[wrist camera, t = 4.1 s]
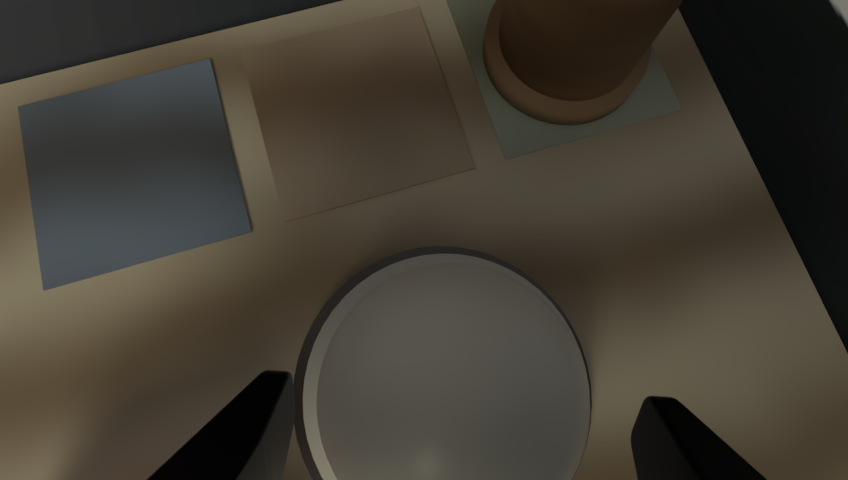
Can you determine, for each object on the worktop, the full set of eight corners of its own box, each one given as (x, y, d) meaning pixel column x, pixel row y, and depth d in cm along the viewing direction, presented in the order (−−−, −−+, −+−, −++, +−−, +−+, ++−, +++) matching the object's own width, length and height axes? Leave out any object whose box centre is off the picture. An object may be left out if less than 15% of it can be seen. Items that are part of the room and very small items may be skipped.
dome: (612, 483, 13) (748, 556, 8) (352, 575, 13) (309, 721, 7) (521, 235, 15) (583, 155, 10) (285, 305, 14) (209, 263, 9)
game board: (895, 508, 15) (950, 523, 14) (-5, 849, 13) (-61, 913, 11) (627, -51, 20) (645, -87, 18) (-72, 123, 17) (-119, 99, 16)
